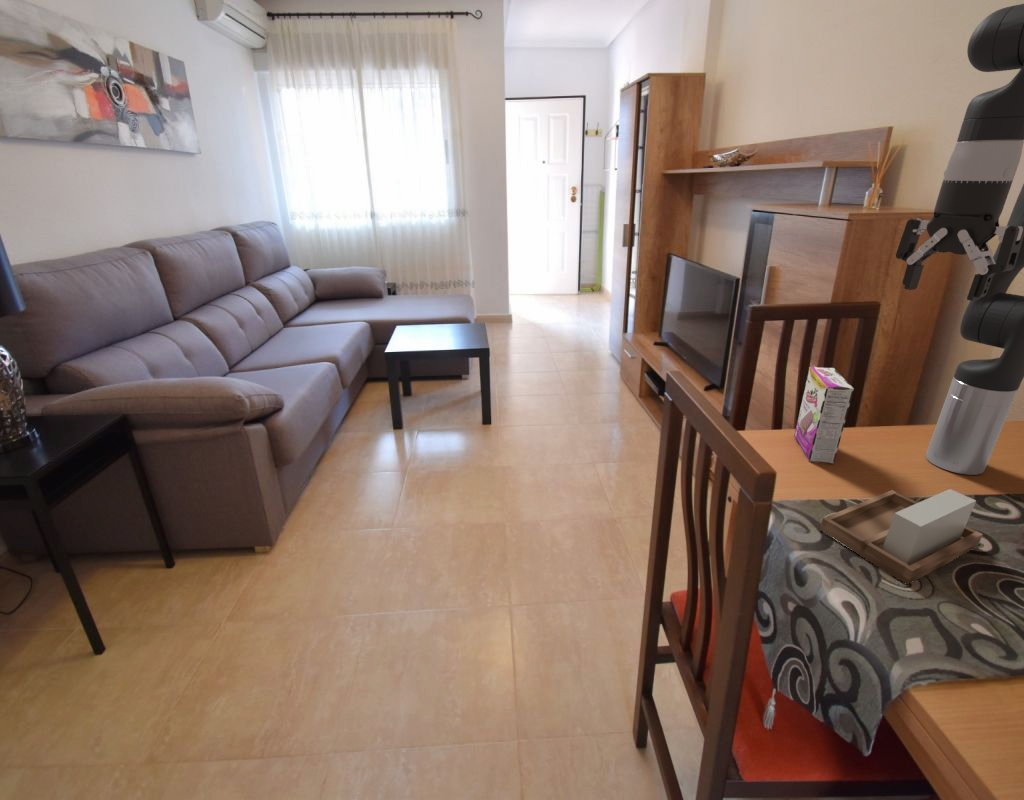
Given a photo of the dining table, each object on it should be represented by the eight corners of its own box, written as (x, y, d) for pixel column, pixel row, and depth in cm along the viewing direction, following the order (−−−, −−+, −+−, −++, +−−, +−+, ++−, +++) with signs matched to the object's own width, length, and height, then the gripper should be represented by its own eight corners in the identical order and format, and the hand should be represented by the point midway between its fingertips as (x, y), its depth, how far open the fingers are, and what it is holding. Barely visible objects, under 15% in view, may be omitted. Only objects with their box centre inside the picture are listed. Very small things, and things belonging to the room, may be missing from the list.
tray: (888, 502, 92) (892, 490, 91) (977, 547, 81) (983, 534, 80) (819, 530, 85) (822, 518, 84) (906, 585, 74) (912, 571, 73)
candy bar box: (791, 436, 115) (808, 365, 108) (816, 438, 114) (835, 367, 107) (807, 462, 105) (826, 386, 98) (834, 464, 104) (856, 388, 97)
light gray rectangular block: (935, 525, 84) (949, 488, 81) (960, 538, 81) (976, 500, 79) (881, 551, 79) (894, 513, 76) (905, 566, 76) (920, 526, 73)
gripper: (1057, 178, 68) (1010, 301, 75) (936, 176, 80) (905, 283, 87) (1028, 179, 65) (981, 307, 72) (907, 177, 77) (876, 288, 84)
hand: (940, 294), depth 79 cm, fingers open, 8 cm apart
